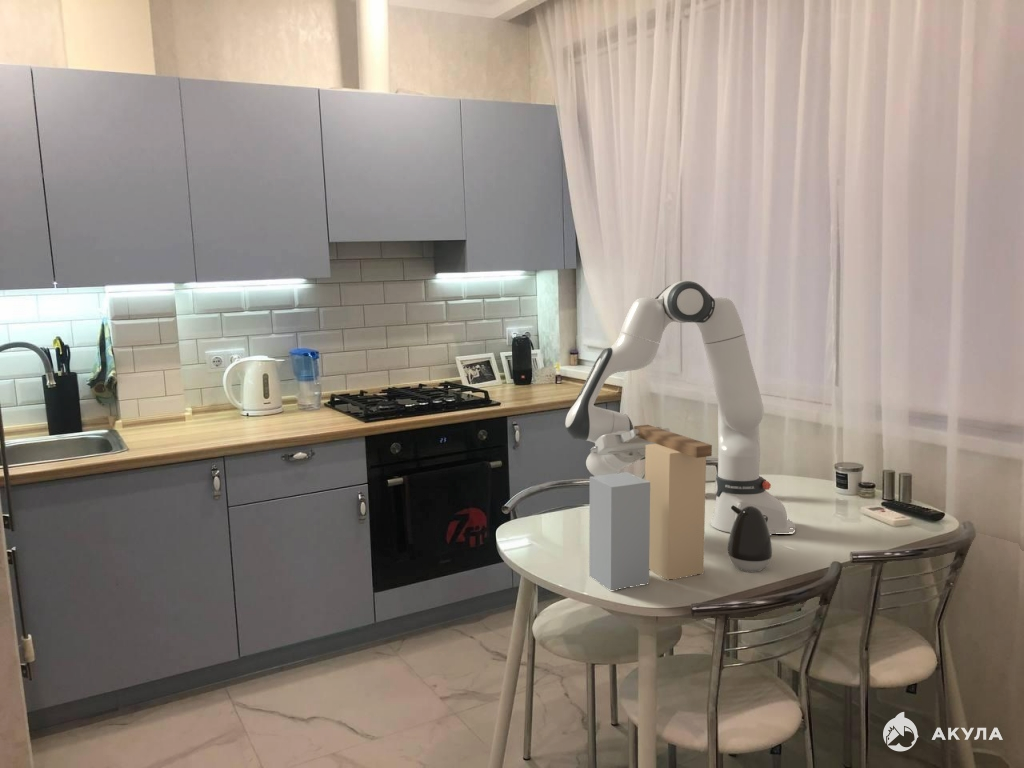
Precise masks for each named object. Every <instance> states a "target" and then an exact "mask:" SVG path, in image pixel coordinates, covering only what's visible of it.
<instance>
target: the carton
mask: <svg viewBox="0 0 1024 768" xmlns="http://www.w3.org/2000/svg"><path fill="white" fill-rule="evenodd" d="M644 460H645V465H644V466H645V467H644V468H645V470H644V474H645V475H644V480H647V481H649V482H650V546H649V569H650V570H649V571H651V570H652V571H651V572H653V573H654V572H655V573H654V574H656V575H658V576H659V575H660V577H661V576H662V577H664V578H665V579H664V578H663V579H664V580H666V579H667V580H668V581H670V580H669V579H673V580H676V579H675V578H679V579H681V578H680V577H684V578H687V577H686V576H689V577H692V576H691V575H694V576H698V575H697V574H700V575H703V574H704V566H705V565H704V563H705V562H704V561H705V557H704V555H705V521H706V520H705V518H706V516H705V515H706V478H707V477H706V474H707V473H706V472H707V457H700V458H695V457H693V456H690V455H687V454H684V453H681V452H678V451H676V450H673V449H670V448H667V447H664V446H661V445H658V444H650V445H646V450H645V459H644ZM702 573H703V574H702ZM662 577H661V578H662ZM667 580H666V581H667Z"/></svg>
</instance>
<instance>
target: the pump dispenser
mask: <svg viewBox="0 0 1024 768" xmlns="http://www.w3.org/2000/svg"><path fill="white" fill-rule="evenodd" d="M731 509H732V510H733V511H734V512H735V513H737V514H738V515H737V517H736V519H735V521H734V524H733V526H732V529H731V533H729V537H728V543H727V554H728V556H729V560H730V562H731V564H733V566H734V567H735V568H737V570H741V571H743V572H747V571H748V573H755V571H756V572H759V571H762V570H763V569H765V568H766V567H767V566H768V565H769V562H770V559H771V558H772V556H773V547H772V539H771V535H770V533H769V530H768V526H767V523H766V520H765V518H764V516H763V514H762V513H761V511H760V510H759V509H757V508H756V507H752V506H748V507H745V508H743V509H742V510H740V509H739V508H737V507H735V506H734V505H733V506H732V507H731Z"/></svg>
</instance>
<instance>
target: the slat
mask: <svg viewBox="0 0 1024 768" xmlns="http://www.w3.org/2000/svg"><path fill="white" fill-rule="evenodd" d="M657 427H658V426H654V425H653V426H652V425H649V424H641V425H633V428H634V429H638V430H639V434H640V435H639V436H638V438H641V439H644V440H647V441H650V442H653V443H656V444H658V445H661V446H664V447H667V448H670V449H673V450H676V451H678V452H681V453H684V454H687V455H690V456H693V457H695V458H700V457H706V458H707V457H712V456H713V454H712V452H713V449H712V448H713V445H712V444H710V443H706V442H704V441H700V440H698V439H694V438H691V437H687V436H685V435H681V434H680V433H679V434H678V433H676V432H672V431H671V432H669V431H666V430H663V429H660V428H657Z"/></svg>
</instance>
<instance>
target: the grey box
mask: <svg viewBox="0 0 1024 768" xmlns="http://www.w3.org/2000/svg"><path fill="white" fill-rule="evenodd" d="M588 528H589V534H588V535H589V536H588V537H589V539H588V540H589V541H588V542H589V543H588V544H589V545H588V546H589V555H588V556H589V557H588V558H589V561H588V562H589V567H588V568H589V569H588V570H589V571H588V572H589V575H588V576H589V577H590V576H591V577H592V579H593V578H594V579H596V580H597V581H598V582H600V583H601V584H602V585H601V584H600V583H599V584H600V585H601V586H603V585H604V586H605V587H607V588H608V589H610V590H616V589H619V588H624V587H630V586H636V585H640V584H647V583H649V584H650V570H649V546H650V482H649V481H647V480H645V478H642V477H641V476H637V475H635V474H632V473H631V472H628V471H625V472H624V471H623V472H618V473H615V474H607V475H599V476H594V475H593V476H589V527H588ZM591 577H590V578H591ZM594 579H593V580H594ZM596 580H595V581H596ZM597 581H596V582H597ZM598 582H597V583H598ZM647 585H648V584H647ZM604 586H603V587H604ZM605 587H604V588H605ZM607 588H606V589H607ZM608 589H607V590H608ZM610 590H609V591H610ZM616 591H617V590H616Z"/></svg>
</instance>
